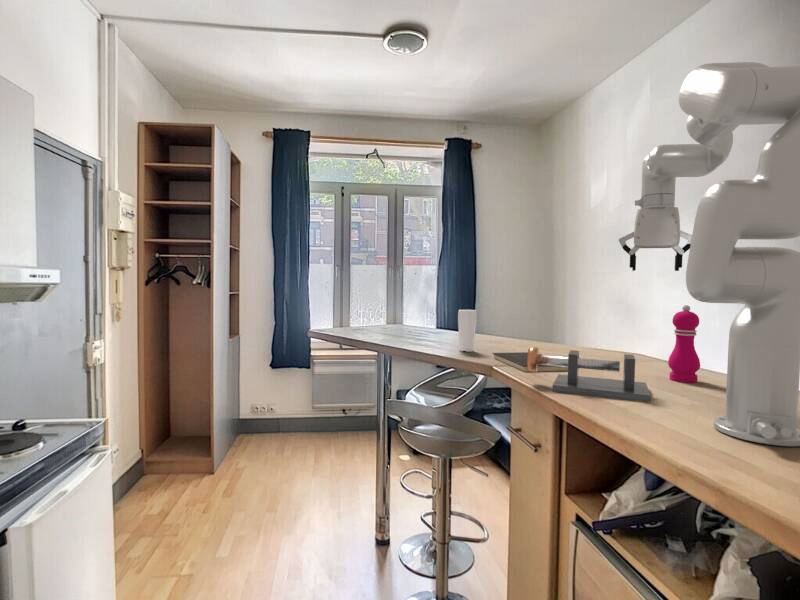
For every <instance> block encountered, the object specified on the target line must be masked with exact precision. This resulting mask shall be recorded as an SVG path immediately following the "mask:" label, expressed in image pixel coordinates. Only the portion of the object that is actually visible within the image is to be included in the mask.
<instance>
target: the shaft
mask: <svg viewBox="0 0 800 600" xmlns="http://www.w3.org/2000/svg"><path fill="white" fill-rule="evenodd" d="M527 352H528V356H527V368H528V372H535V373H536V372H538V371H537V370H538V365H549V366H560V367H568V356H559V355H558V356H556V355H545V354H542V355H539V354H540V350H539V347H532V346H529V347H528V350H527ZM620 364H621V362H620V361H619V360H607V359H595V358H592V359H591V358H581V357H579V358H578V368H579V369H583V370H585V369H586V370H593V371H594V370H595V371H596V370H597V371H608V372H619V373H620V369H621V365H620Z"/></svg>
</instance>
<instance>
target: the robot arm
mask: <svg viewBox="0 0 800 600" xmlns="http://www.w3.org/2000/svg"><path fill="white" fill-rule="evenodd" d="M678 104H679V107H680V109H681V111H682V112H683V113H684V114H686V115H688V117H687V120H686V130H687V132H688V135H689V136H690V137H691V139H692V140H694V141H695V142H696V143H680V144H679V143H678V144H659V145H657V146H656V147H654V148H653V149H652V151H650V153H649V154H648V155H647V156H646V157H644V159H643V160H642V164H641V165H642V168H641V169H642V170H641V171H642V173H641V194H640V197H641V198H640V199H637V200H634V206H638V207H640V208H638V209H637V212H636V216H635V222H634V230H633V232H630V233H628V234H626V235H623V236H622V237H620V238H619V239H618V243H619V244H620V246H621V248H622V249H623V251H625V252H626V253H627V254H628V255H629V269H630V268H631V269H632V272H635V271H636V267H637V266H636V265H637V255H636V253H637V252H638V251H639V250H640V249H672V250H673V251H674V252H675V256H674V271H675V272H678V271H680V268H681V269H682V268H683V255H684V254H685V253H686V252H688V251H689V253H688V257H687V263H686V264H687V265H686V272H685V284H686V288H687V289H686V290H687V291H688V293H689V295H690V296H691V297H692V298H693V299H694V300H696V301H698V302H701V303H709V304H736V305H737V304H739V305H740V304H741V305H744V306H743V307H742V308H741V309H740V310H739V312H738V313H736V316H735V317H734V319H733V321H732V322H731V324H730V327H729V333H728V345H727V347H728V348H727V349H728V350H727V368H726V369H727V370H726V371H727V372H726V373H727V375H726V388H725V389H726V392H725V412H724V413H725V416H720V417H716V418H715V419H714V421H713V427H714V428H715V429H716V430H717V431H718V432H721V433H723V434H725V435H729V436H730V437H734V438H736V439H741V440H744V441H748V442H753V443H758V444H764V445H768V446H769V445H770V446H778V447H779V446H780V447H800V429H799V428H798V414H799V413H798V410H799V394H800V393H799V391H800V251H798V250H796V249H792V248H786V247H778V246H777V247H776V246H773V247H771V246H746V247H744V246H743V247H742V246H741V247H739V246H738V247H737V245H736V244H737V242H738V241H739V240H768V241H769V240H789V239H795V238H799V237H800V65H786V66H785V65H783V66H768V65H766V64H765V63H761V62H756V61H739V62H736V61H735V62H712V63H710V62H709V63H704V64H701V65H699V66H697V67H695V68H694V69H693V70H691V72H690V73H688V75H687V76H686V77H685V79H684V80H683V83H682V85H681V87H680V90H679V93H678ZM777 124H778V125H782V126H781V127H779V129H778V130H776V131H775V132H774V133H773V135H772V136H771V137H770V138H769V139H768V140H767V142H766V143H765V144H764V146H763V147H762V149H761V152H760V155H759V159H758V164H757V169H756V172H755V176H754V178H752V179H728V180H722V181H719V182H717V183H715V184H713V185H711V186H710V187H709V188H708V189H707V190H706V192H705V193H704V194H703V195H702V197H701V199H700V201H699V203H698V206H697V209H696V213H695V218H694V223H693V229H692V233H691V234H690V233H687V232H685V231H683V230H681V224H680V223H681V219H680V218H681V217H680V211H679V207H677V206H676V205H675V204H676V179H677V178H700V177H704V176H707V175H709V174H711V173H712V172H714V171H715V170H716V169H718V168H719V167H720V166H721V165H722V164H723V163H724V162H725V161H727V159H728V157H729V155H730V153H731V151H732V147H733V144H734V134H733V132H735V130H736V129H737V128H738V127H739V126H742V125H743V126H744V125H746V126H747V125H750V126H751V125H777ZM681 238H682V239H686V240H687V242H686V244H685V245H684V246H682V247H681V246H680V245H679V244H680V243H681V241H680V240H681ZM630 239H633V245H634V246H633V247H632V248H630V246H629V245H627V243H626V242H627V241H629V240H630Z"/></svg>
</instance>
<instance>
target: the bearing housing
mask: <svg viewBox="0 0 800 600" xmlns="http://www.w3.org/2000/svg"><path fill="white" fill-rule="evenodd" d="M567 357H568V371H567V374H559V373H558V374H557V376H556V378H555V379H554V382H553V383H552V392H555V393H563V394H570V395H571V394H573V395H580V396H590V397H597V398H598V397H599V398H606V399H607V398H608V399H616V400H617V399H618V400H627V401H637V402H643V403H644V402H645V403H651V398H652V394H651V392H650V390H649V388H648V385H647V382H643V381H635V378H636V377H635V376H636V375H635V374H636V358H635V355H634V354H629V353H628V354H627V353H625V354H623V374H622V377H623V378H622V379H613V378H612V379H611V378H603V377H602V378H601V377H591V376H580V375H579V369H580V368H578V358H580V350H571V349H570V350H569V352H568V355H567Z"/></svg>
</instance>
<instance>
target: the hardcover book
mask: <svg viewBox="0 0 800 600" xmlns="http://www.w3.org/2000/svg"><path fill="white" fill-rule="evenodd" d="M492 355H493V359H495V360H497V361H499V362H501V363H504V364H506V365H509V366H511V367H513V368H516V369H518V370H520V371H523V372H524V373H525V372H529V371H528V368H527V356H528V351H526V352H525V351H524V352H523V351H522V352H520V351H519V352H492ZM539 355H543V354H542V353H539ZM557 371H558V372H561V371H562V372H568V367H560V366H549V365H538V370H537V372H557Z"/></svg>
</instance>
